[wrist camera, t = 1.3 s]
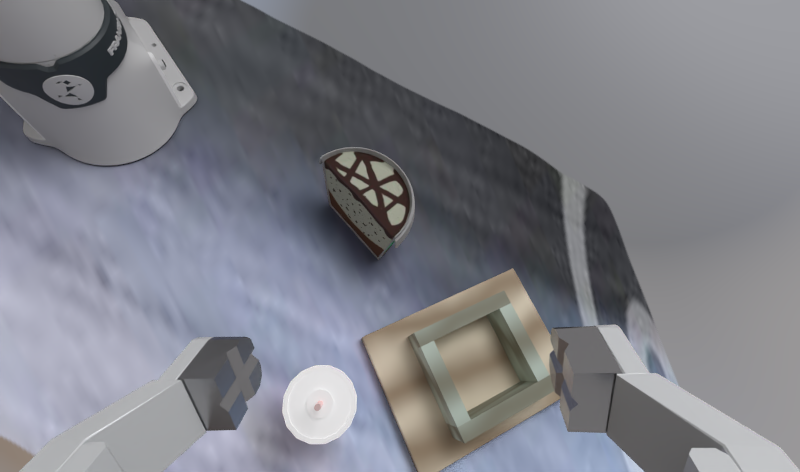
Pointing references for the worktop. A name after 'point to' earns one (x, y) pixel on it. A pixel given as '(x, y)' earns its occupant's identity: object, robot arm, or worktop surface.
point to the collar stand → (464, 370)
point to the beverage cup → (319, 404)
